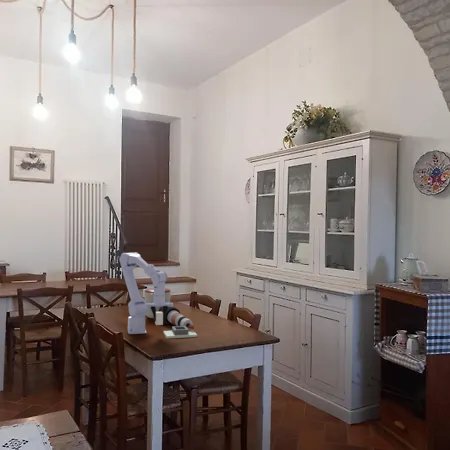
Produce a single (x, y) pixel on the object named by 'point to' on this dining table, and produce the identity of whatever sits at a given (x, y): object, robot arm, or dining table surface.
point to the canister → (150, 299)
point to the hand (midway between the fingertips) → (158, 320)
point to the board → (179, 332)
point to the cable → (176, 318)
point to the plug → (159, 318)
